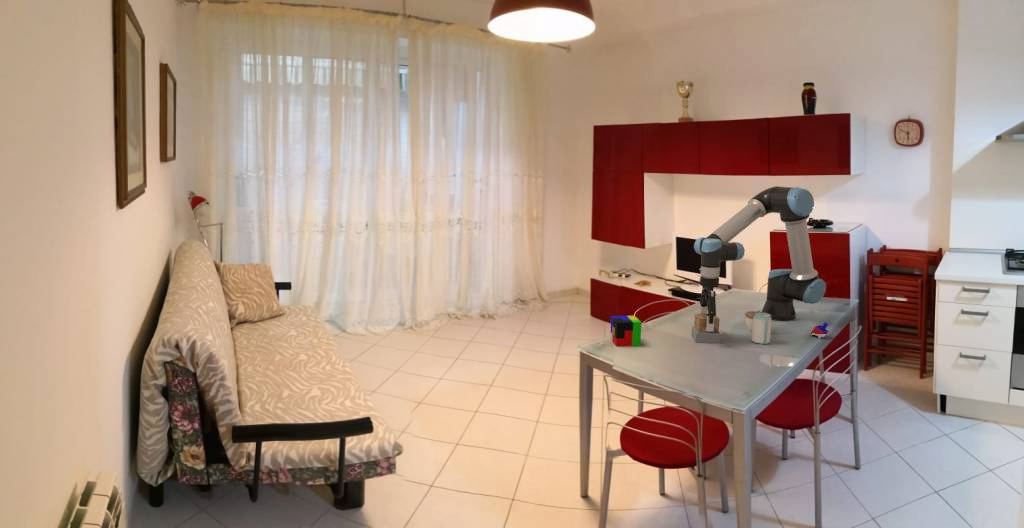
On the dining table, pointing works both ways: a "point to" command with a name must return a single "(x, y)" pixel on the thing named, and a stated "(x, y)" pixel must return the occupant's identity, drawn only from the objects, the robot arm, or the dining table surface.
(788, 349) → the dining table surface
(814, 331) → the multicoloured piece
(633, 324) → the puzzle toy
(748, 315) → the lidded jar
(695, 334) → the tower base
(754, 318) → the can
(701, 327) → the walnut brick
